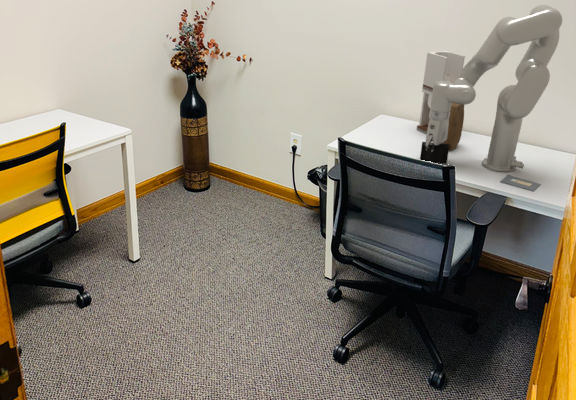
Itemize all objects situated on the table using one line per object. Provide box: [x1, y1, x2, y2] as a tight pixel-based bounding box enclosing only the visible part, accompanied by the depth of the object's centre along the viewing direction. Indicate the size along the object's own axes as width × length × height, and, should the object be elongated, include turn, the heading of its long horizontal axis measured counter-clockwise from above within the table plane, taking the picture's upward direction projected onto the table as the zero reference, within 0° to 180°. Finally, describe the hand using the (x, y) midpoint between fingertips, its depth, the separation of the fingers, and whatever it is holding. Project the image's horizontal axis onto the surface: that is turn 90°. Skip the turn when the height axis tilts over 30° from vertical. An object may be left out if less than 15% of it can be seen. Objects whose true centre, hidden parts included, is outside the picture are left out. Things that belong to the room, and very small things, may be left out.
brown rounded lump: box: [443, 103, 465, 151], centre depth 227 cm, size 11×8×20 cm
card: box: [499, 174, 542, 192], centre depth 199 cm, size 12×8×1 cm, turn 51°
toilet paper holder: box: [416, 50, 466, 135], centre depth 240 cm, size 11×11×35 cm
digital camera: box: [419, 141, 450, 165], centre depth 215 cm, size 10×5×7 cm, turn 76°
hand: (433, 157), depth 216 cm, fingers closed on digital camera, 6 cm apart
